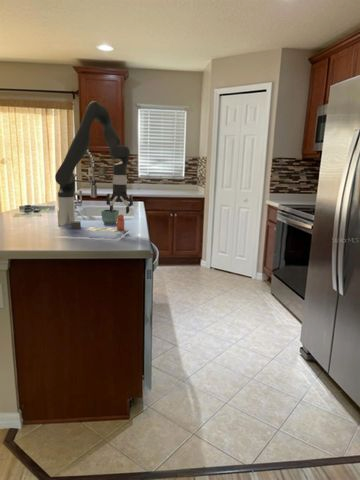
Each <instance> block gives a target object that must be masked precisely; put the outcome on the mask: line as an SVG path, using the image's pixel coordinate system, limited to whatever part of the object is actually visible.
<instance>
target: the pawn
mask: <svg viewBox="0 0 360 480" xmlns="http://www.w3.org/2000/svg"><path fill="white" fill-rule="evenodd" d="M117 218H118V219H117V222H116V228H117V230H118V231H124V229H125V219H124V215H123V214H122V213H119V214H118V216H117ZM124 232H125V231H124Z"/></svg>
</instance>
